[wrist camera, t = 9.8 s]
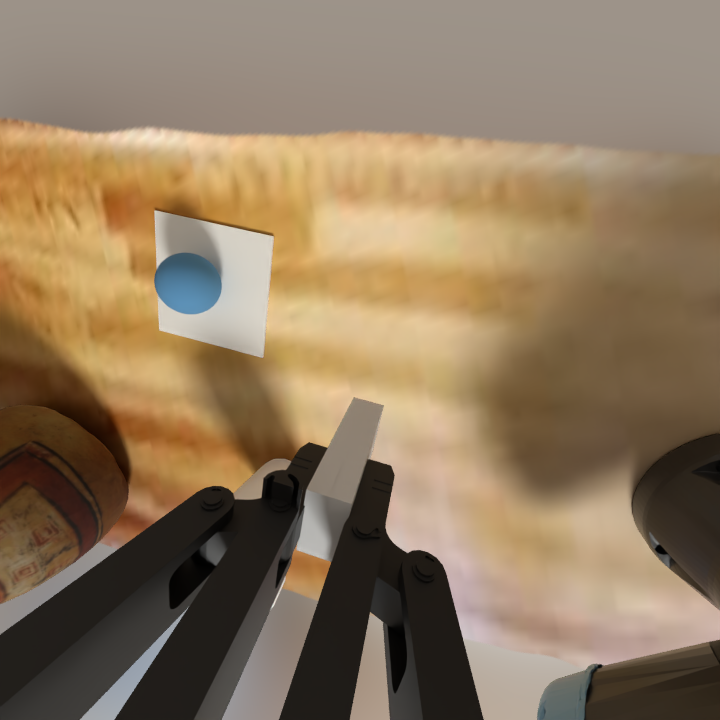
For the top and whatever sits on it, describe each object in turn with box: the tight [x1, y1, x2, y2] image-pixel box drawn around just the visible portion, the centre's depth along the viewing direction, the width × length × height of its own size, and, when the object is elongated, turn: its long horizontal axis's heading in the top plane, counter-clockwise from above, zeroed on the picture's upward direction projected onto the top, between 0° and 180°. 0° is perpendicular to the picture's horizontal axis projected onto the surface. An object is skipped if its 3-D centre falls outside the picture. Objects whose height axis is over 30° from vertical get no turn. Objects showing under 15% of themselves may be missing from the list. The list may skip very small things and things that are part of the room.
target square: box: [155, 210, 274, 358], centre depth 35 cm, size 12×12×1 cm
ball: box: [154, 253, 222, 314], centre depth 32 cm, size 6×6×6 cm
